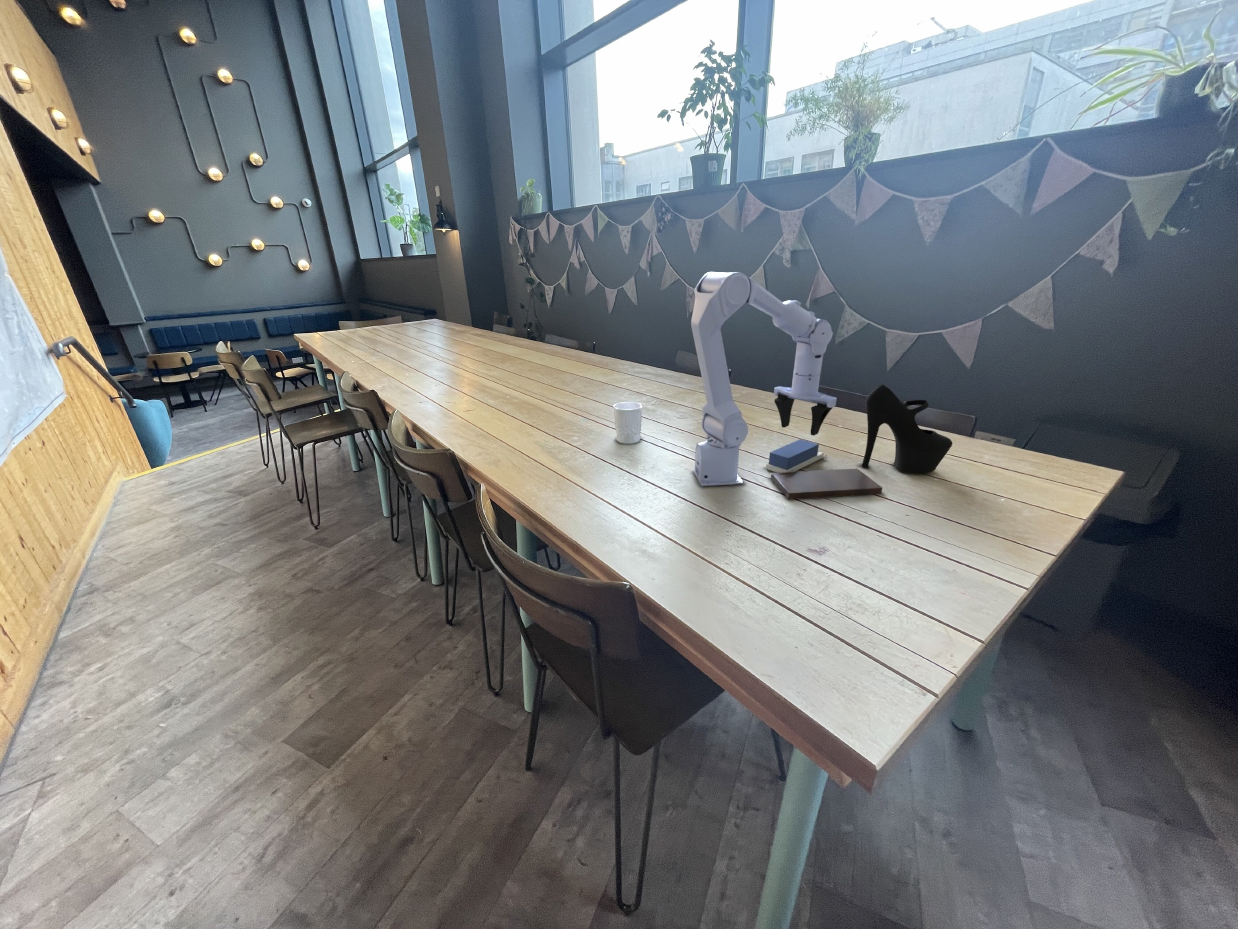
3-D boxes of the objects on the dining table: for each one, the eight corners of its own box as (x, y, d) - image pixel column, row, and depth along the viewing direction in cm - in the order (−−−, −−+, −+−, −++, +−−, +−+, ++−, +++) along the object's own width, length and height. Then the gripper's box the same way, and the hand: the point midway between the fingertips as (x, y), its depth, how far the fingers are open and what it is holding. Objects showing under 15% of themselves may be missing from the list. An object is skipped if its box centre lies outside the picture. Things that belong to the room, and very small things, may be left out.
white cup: (642, 444, 129) (642, 409, 125) (614, 445, 129) (612, 410, 125) (642, 434, 136) (641, 401, 132) (615, 435, 136) (613, 401, 132)
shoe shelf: (788, 499, 98) (789, 493, 97) (770, 479, 107) (771, 473, 106) (881, 494, 98) (882, 487, 98) (856, 474, 108) (857, 468, 107)
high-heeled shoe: (949, 477, 105) (974, 389, 97) (857, 472, 108) (874, 388, 100) (935, 463, 112) (957, 380, 104) (849, 459, 115) (864, 379, 107)
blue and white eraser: (786, 475, 108) (788, 459, 106) (765, 468, 112) (767, 452, 110) (823, 457, 117) (825, 441, 115) (803, 451, 121) (805, 436, 119)
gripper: (847, 375, 103) (837, 433, 108) (788, 366, 113) (782, 419, 119) (830, 381, 99) (821, 441, 104) (771, 370, 109) (765, 425, 115)
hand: (799, 430), depth 111 cm, fingers open, 7 cm apart
